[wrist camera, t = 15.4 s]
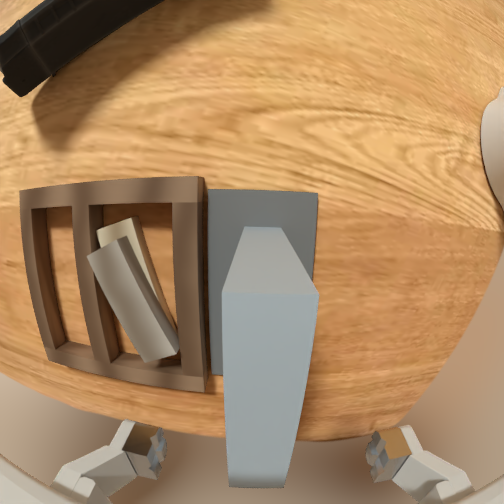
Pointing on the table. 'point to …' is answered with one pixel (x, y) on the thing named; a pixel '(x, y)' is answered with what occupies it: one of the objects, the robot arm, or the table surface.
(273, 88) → the table surface
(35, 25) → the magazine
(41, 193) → the rack
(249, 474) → the sheet
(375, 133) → the table surface
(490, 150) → the robot arm
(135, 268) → the offcut upper
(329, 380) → the table surface
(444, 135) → the table surface
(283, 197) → the mat
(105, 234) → the offcut lower
